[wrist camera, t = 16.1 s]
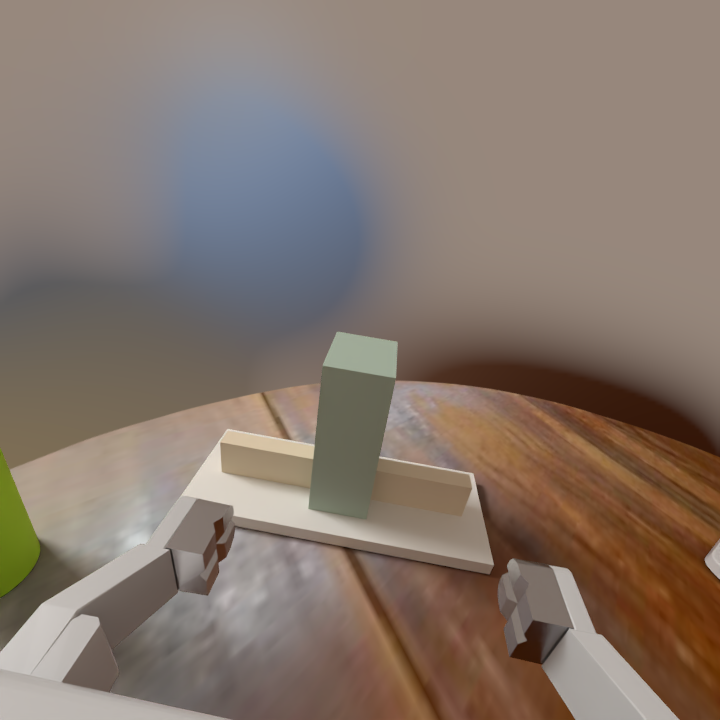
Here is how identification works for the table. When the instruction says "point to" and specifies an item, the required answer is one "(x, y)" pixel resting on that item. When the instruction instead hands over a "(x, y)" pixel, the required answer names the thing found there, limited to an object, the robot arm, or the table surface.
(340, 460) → the tall rectangular block
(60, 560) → the table surface
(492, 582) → the table surface
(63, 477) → the table surface
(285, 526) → the rail board
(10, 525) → the soap dispenser
